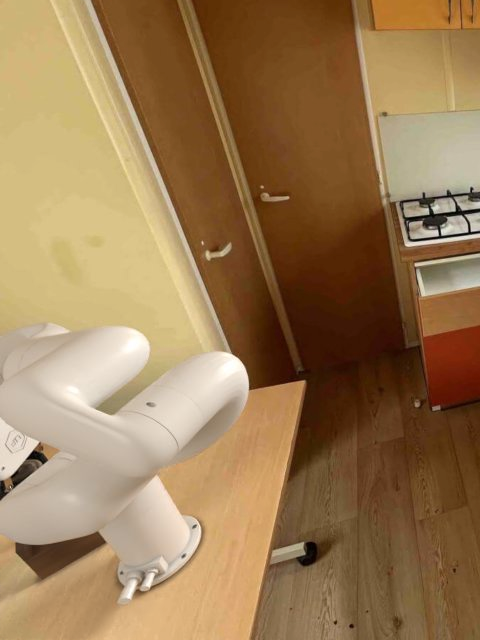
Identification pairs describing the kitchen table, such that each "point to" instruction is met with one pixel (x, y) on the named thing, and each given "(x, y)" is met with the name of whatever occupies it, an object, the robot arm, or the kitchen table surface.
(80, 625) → the kitchen table surface
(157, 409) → the robot arm
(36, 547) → the brown piece
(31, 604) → the kitchen table surface
